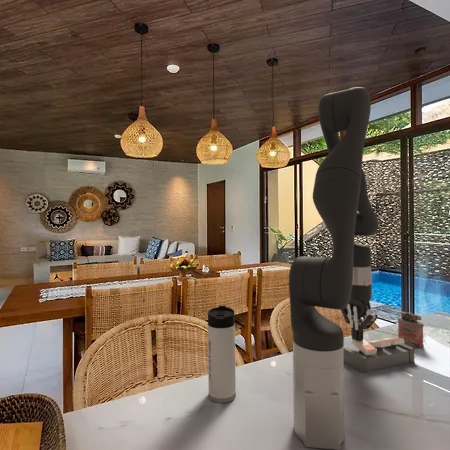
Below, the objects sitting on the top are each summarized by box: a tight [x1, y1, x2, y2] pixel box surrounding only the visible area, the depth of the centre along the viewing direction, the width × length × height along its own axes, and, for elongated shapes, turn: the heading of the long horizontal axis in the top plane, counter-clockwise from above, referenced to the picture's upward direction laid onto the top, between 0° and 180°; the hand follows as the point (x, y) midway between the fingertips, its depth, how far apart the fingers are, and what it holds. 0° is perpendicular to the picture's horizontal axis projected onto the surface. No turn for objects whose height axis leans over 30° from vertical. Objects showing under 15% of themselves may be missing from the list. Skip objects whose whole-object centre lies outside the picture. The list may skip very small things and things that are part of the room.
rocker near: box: [351, 338, 377, 355], centre depth 86 cm, size 3×6×1 cm, turn 19°
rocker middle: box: [367, 339, 391, 347], centre depth 87 cm, size 3×6×1 cm, turn 19°
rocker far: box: [378, 337, 405, 345], centre depth 89 cm, size 3×6×1 cm, turn 19°
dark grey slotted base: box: [344, 343, 415, 373], centre depth 87 cm, size 18×7×4 cm, turn 109°
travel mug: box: [207, 305, 237, 404], centre depth 71 cm, size 6×7×20 cm
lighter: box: [397, 311, 425, 350], centre depth 99 cm, size 8×3×10 cm, turn 25°
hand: (357, 341), depth 88 cm, fingers closed
